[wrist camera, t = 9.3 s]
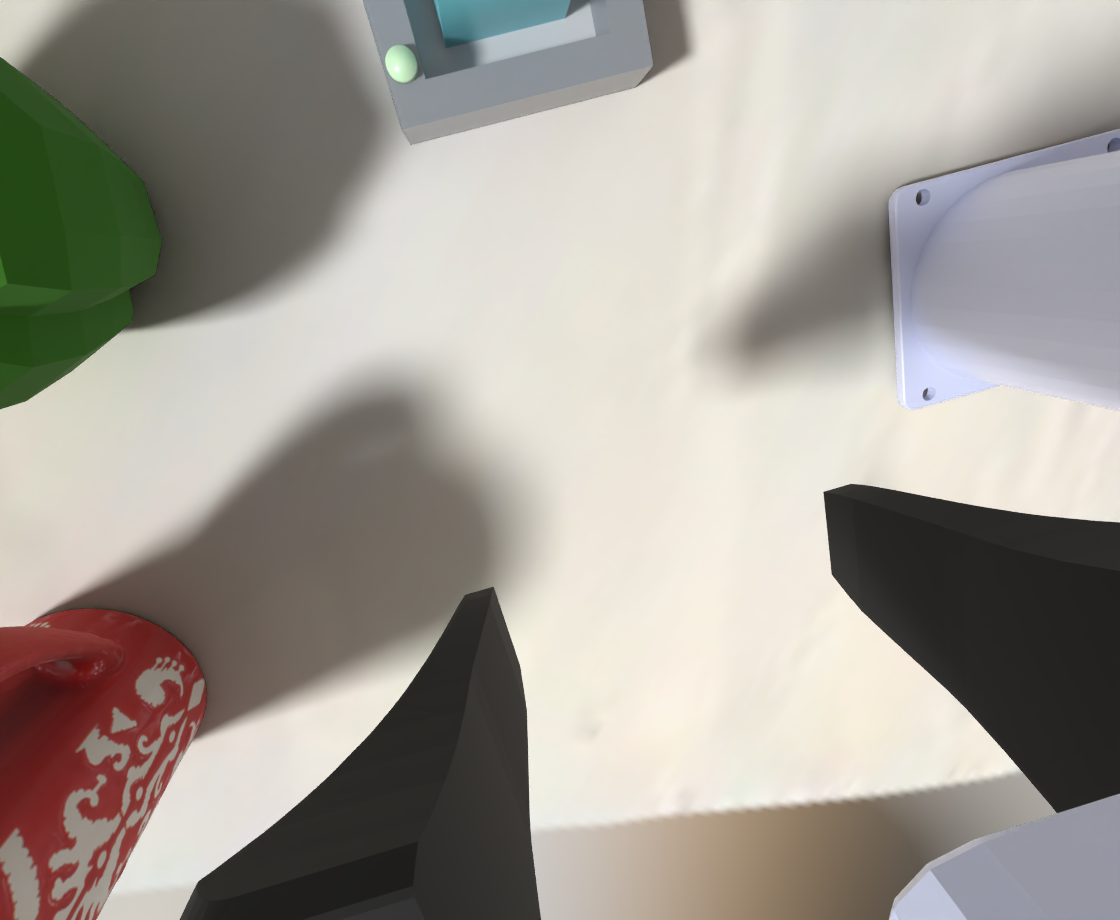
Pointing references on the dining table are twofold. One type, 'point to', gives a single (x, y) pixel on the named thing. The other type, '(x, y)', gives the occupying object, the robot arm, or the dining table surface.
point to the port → (505, 64)
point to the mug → (85, 753)
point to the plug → (493, 17)
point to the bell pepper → (62, 239)
